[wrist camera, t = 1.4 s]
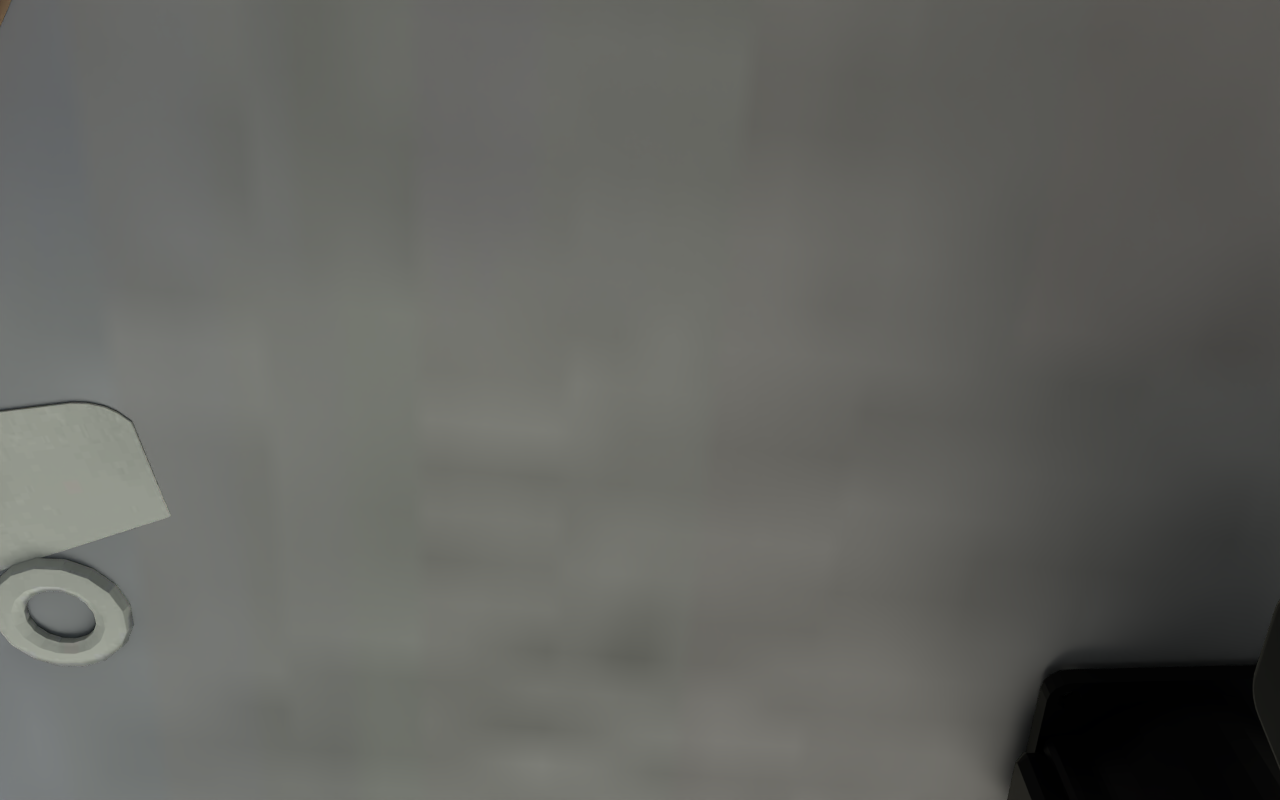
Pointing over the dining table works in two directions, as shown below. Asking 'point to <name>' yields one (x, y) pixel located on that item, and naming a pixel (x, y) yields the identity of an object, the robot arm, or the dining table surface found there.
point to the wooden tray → (3, 8)
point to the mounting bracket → (68, 520)
